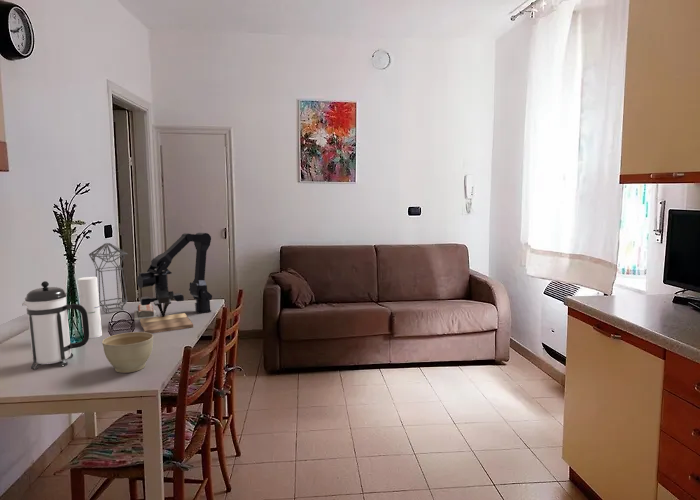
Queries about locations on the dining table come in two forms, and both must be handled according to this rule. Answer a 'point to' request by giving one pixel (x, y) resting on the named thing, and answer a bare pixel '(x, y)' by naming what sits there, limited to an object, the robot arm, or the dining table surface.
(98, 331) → the cylindrical container
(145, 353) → the planter bowl
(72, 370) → the dining table surface
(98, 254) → the geometric lantern
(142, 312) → the packaged product
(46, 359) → the coffee press
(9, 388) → the dining table surface
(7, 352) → the dining table surface
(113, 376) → the dining table surface
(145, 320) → the oak plank
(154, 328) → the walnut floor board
